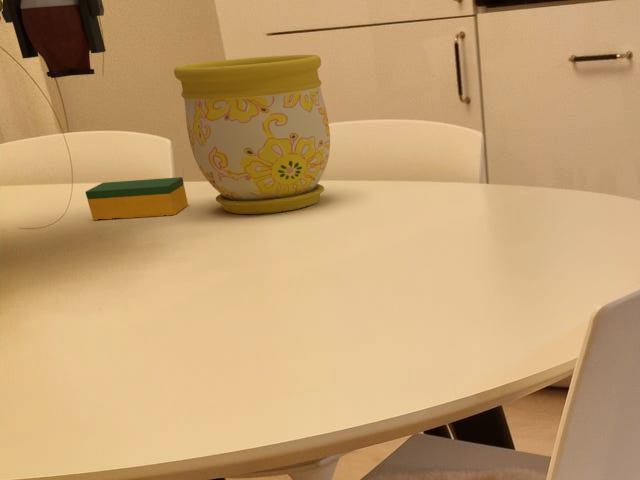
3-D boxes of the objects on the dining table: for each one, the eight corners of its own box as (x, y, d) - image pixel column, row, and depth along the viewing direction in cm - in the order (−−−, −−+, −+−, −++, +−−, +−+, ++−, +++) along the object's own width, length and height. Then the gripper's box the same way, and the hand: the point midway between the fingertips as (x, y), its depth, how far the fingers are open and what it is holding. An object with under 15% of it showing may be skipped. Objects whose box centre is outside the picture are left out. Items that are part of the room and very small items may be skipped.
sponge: (93, 220, 125) (85, 191, 123) (110, 210, 130) (102, 182, 128) (175, 214, 124) (168, 185, 122) (188, 204, 130) (182, 177, 128)
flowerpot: (367, 195, 127) (350, 52, 118) (270, 223, 115) (242, 66, 106) (274, 189, 136) (251, 56, 127) (175, 214, 125) (142, 69, 115)
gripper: (104, -219, 96) (161, 46, 109) (-88, -203, 97) (-8, 59, 110) (77, -234, 90) (141, 50, 103) (-127, -216, 90) (-37, 63, 103)
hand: (64, 54), depth 106 cm, fingers closed on mate gourd, 7 cm apart
